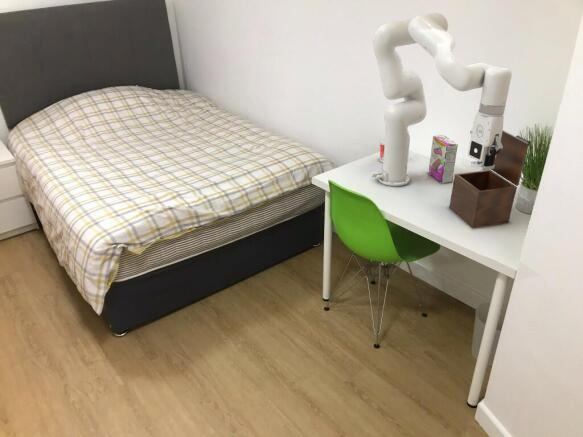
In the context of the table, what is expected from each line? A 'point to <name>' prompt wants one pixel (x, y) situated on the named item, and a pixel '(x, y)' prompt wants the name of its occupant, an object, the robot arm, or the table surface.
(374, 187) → the table surface
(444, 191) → the table surface
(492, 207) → the storage box
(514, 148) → the lid
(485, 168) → the security camera
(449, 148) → the candy bar box
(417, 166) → the table surface
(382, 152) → the beverage cup
